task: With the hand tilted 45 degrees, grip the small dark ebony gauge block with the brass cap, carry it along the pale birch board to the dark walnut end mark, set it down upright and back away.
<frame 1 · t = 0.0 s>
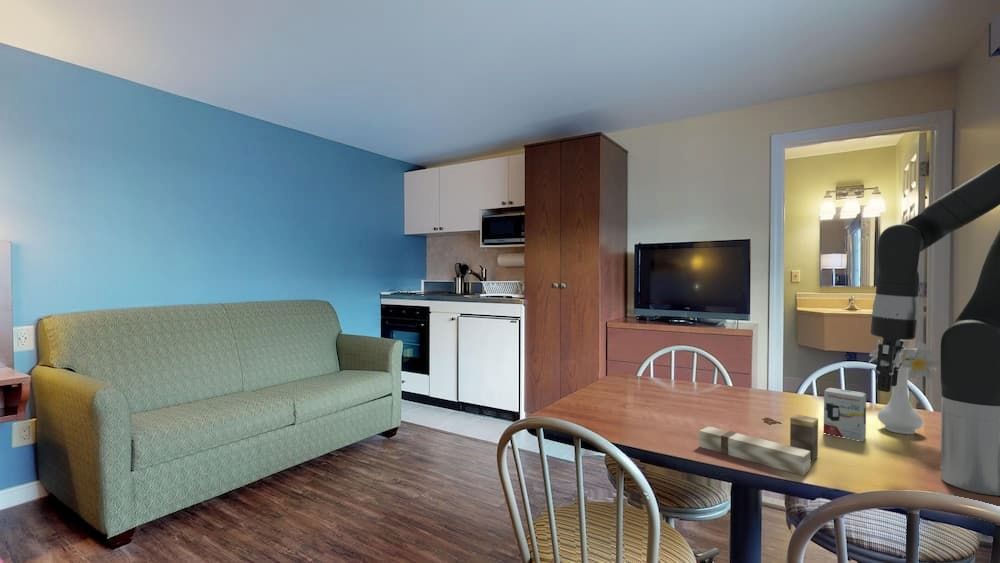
hand: (886, 388, 101), 17 cm above the table, tool pointing down, fingers open, 8 cm apart
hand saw: (751, 414, 140), on the table
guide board: (751, 457, 105), on the table
gauge block: (803, 456, 106), on the table
ink box: (844, 436, 120), on the table
flower vase: (903, 432, 123), on the table
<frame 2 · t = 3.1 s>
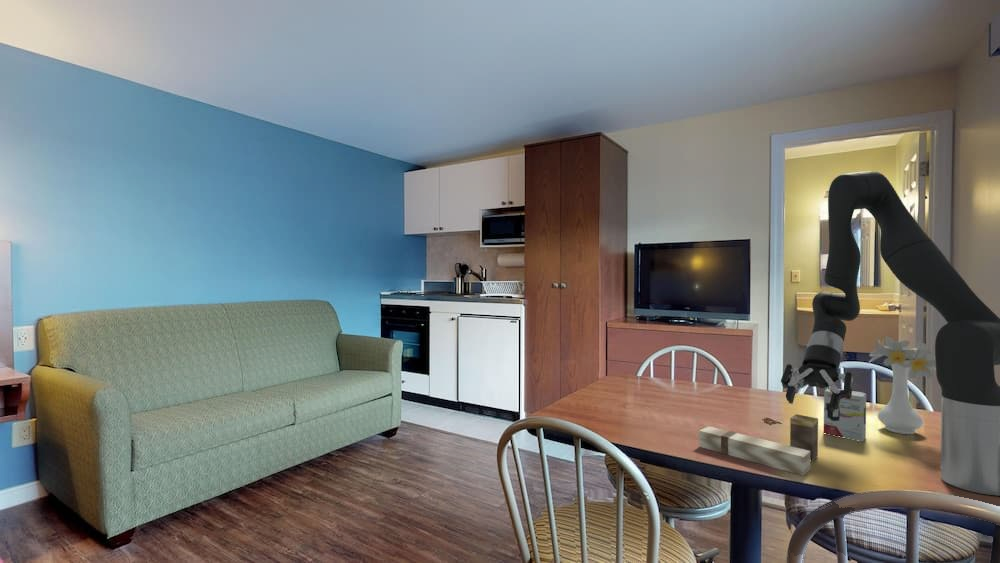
hand: (810, 405, 109), 11 cm above the table, tool tilted 45°, fingers open, 8 cm apart
nothing on the table moved.
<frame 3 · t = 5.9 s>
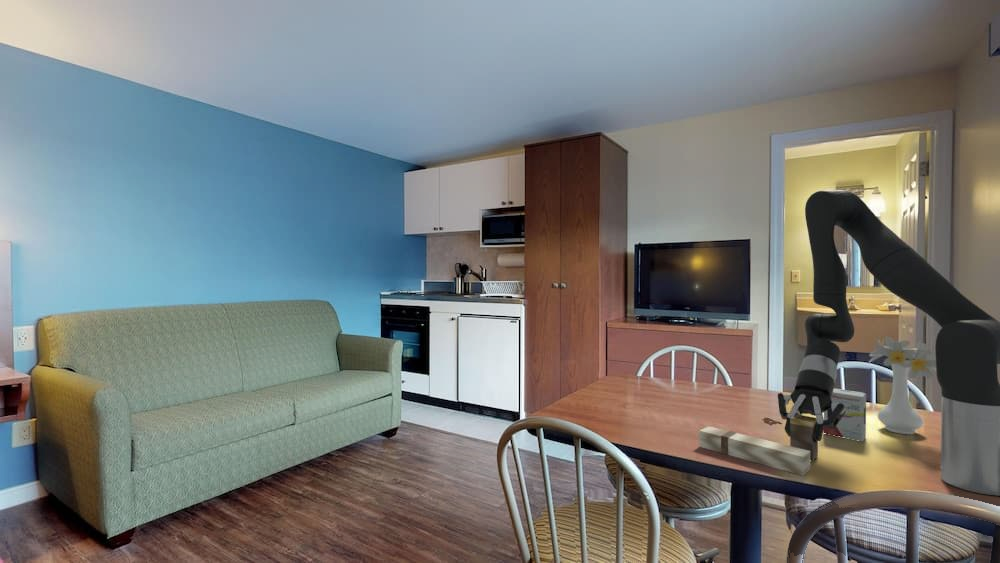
hand: (801, 437, 104), 5 cm above the table, tool tilted 45°, fingers closed on gauge block, 4 cm apart
gauge block: (803, 456, 105), on the table, touching gripper
everything else where it was.
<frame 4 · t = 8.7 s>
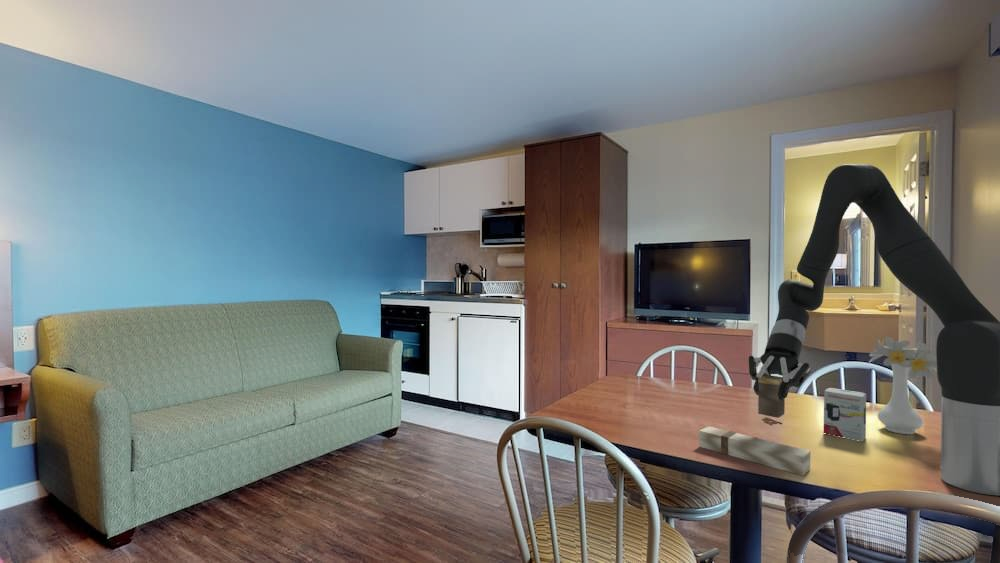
hand: (768, 395, 110), 13 cm above the table, tool tilted 45°, fingers closed on gauge block, 4 cm apart
gauge block: (771, 413, 111), point 8 cm above the table, touching gripper
everything else where it was.
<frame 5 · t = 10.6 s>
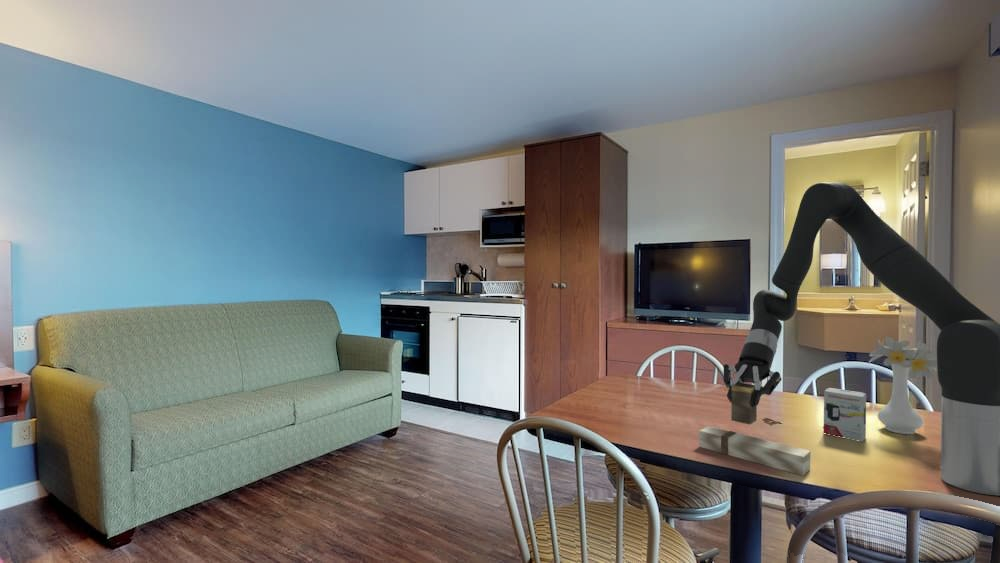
hand: (741, 402, 114), 10 cm above the table, tool tilted 45°, fingers closed on gauge block, 4 cm apart
gauge block: (743, 420, 115), point 5 cm above the table, touching gripper
everything else where it was.
when the fingers open (6 cm above the table, at t = 11.9 s): gauge block stays where it is, on the table.
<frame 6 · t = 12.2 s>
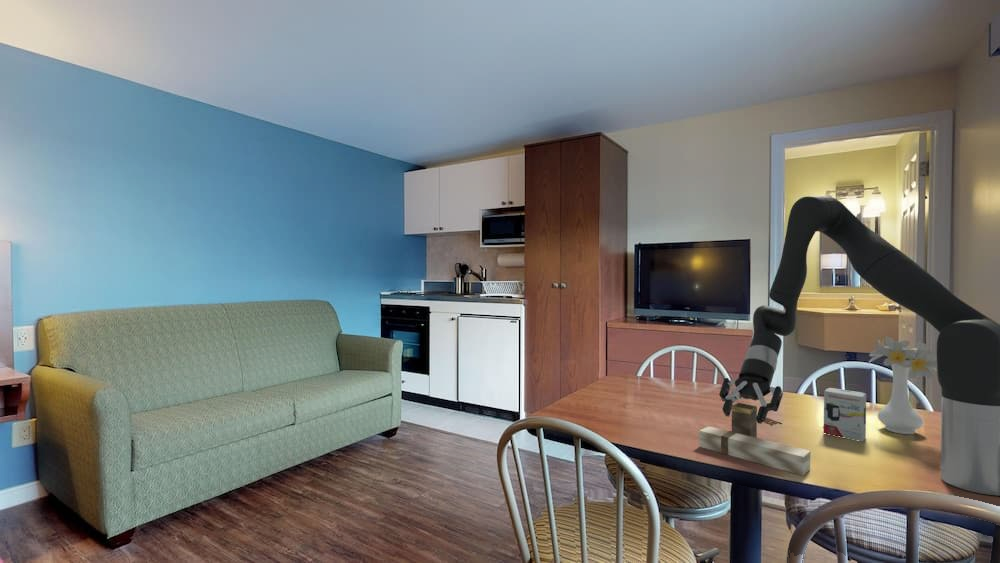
hand: (742, 418, 114), 6 cm above the table, tool tilted 45°, fingers open, 7 cm apart
gauge block: (744, 441, 115), on the table
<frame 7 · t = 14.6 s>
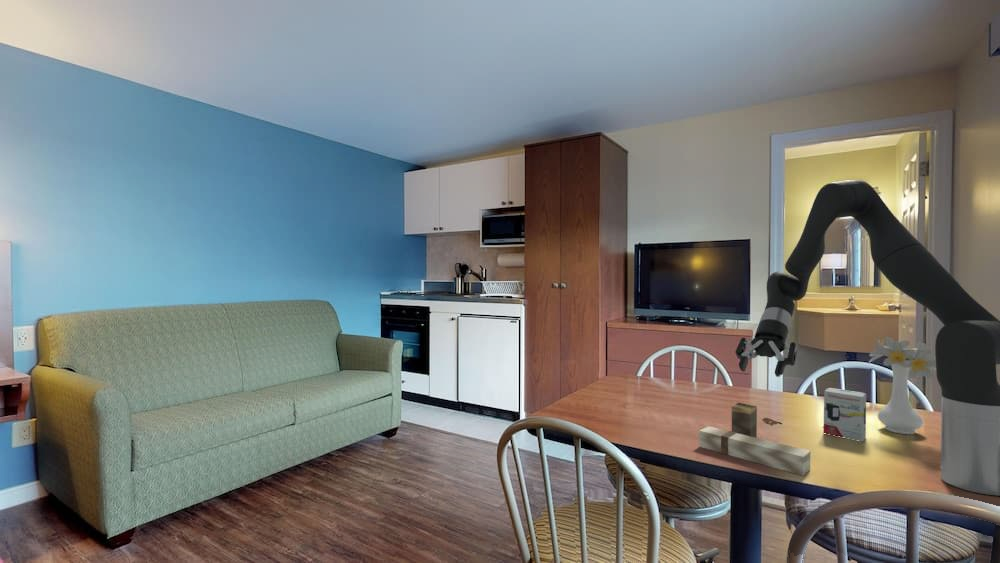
hand: (759, 372, 122), 16 cm above the table, tool tilted 45°, fingers open, 8 cm apart
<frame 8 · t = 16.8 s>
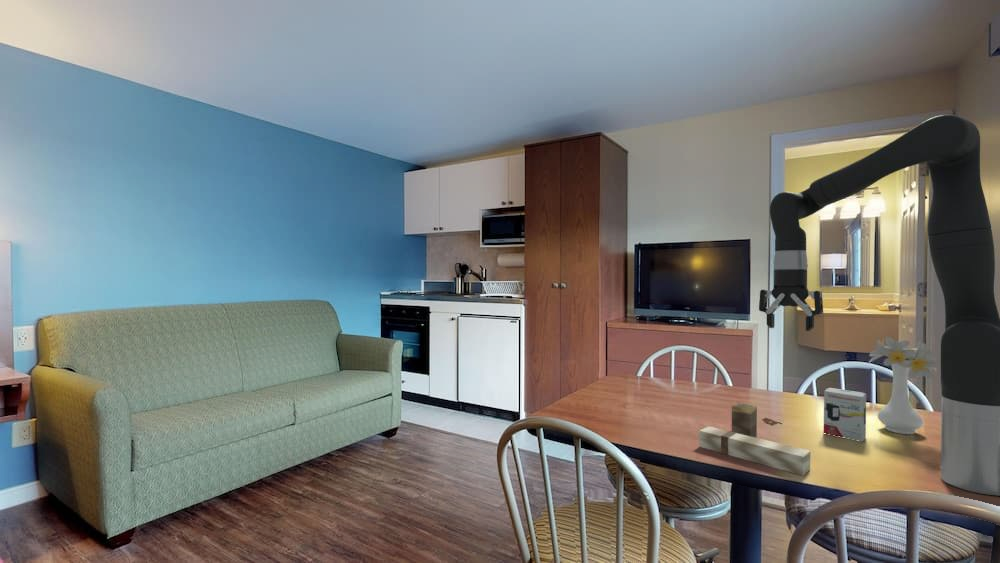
hand: (789, 329, 120), 28 cm above the table, tool pointing down, fingers open, 8 cm apart
at the end: gauge block 0.5 cm from the target spot, on the table; gauge block tilted 0°; the gripper is holding nothing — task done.
